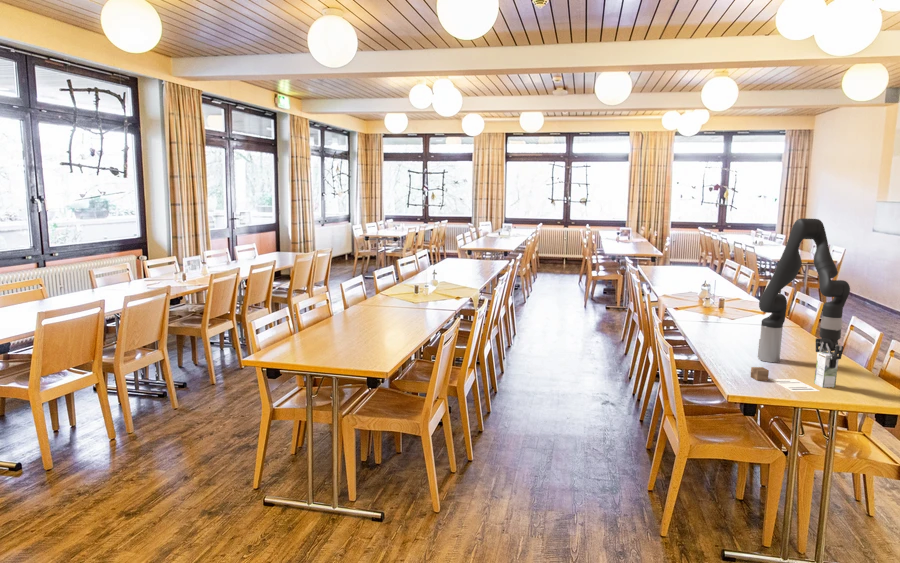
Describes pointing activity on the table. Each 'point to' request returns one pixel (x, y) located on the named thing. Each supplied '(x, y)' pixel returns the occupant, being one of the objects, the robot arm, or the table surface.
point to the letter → (793, 385)
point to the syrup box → (825, 371)
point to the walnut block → (759, 373)
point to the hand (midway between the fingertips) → (826, 365)
